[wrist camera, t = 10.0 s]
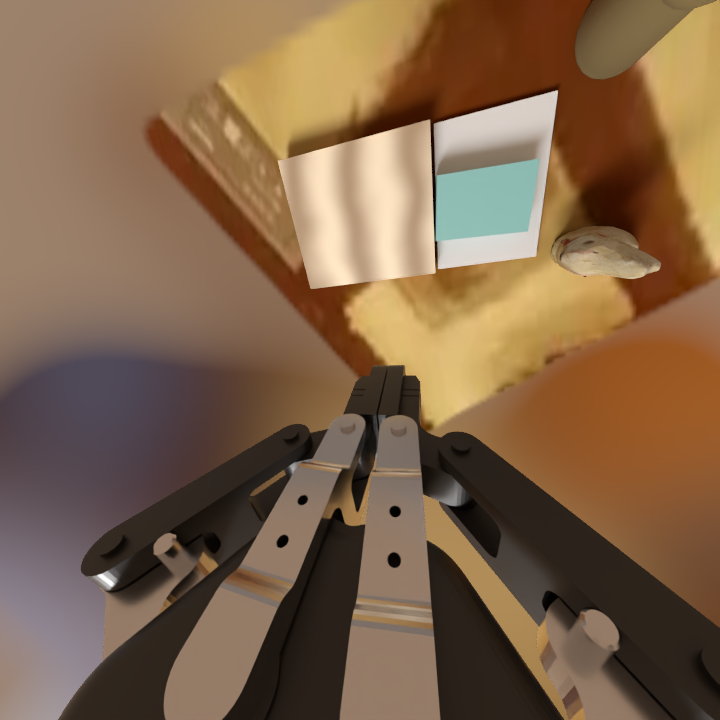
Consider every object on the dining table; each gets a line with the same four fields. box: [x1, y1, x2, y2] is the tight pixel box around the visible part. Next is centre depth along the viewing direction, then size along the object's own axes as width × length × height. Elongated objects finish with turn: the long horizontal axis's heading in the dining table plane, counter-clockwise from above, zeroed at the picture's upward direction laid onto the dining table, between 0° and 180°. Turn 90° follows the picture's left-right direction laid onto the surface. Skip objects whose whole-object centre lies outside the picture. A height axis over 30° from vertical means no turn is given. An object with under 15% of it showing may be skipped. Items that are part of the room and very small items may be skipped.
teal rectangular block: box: [435, 159, 540, 241], centre depth 28 cm, size 9×6×2 cm, turn 97°
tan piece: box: [551, 226, 661, 279], centre depth 25 cm, size 6×8×10 cm
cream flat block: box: [278, 119, 435, 289], centre depth 31 cm, size 16×14×2 cm
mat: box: [434, 90, 558, 269], centre depth 28 cm, size 11×14×1 cm
